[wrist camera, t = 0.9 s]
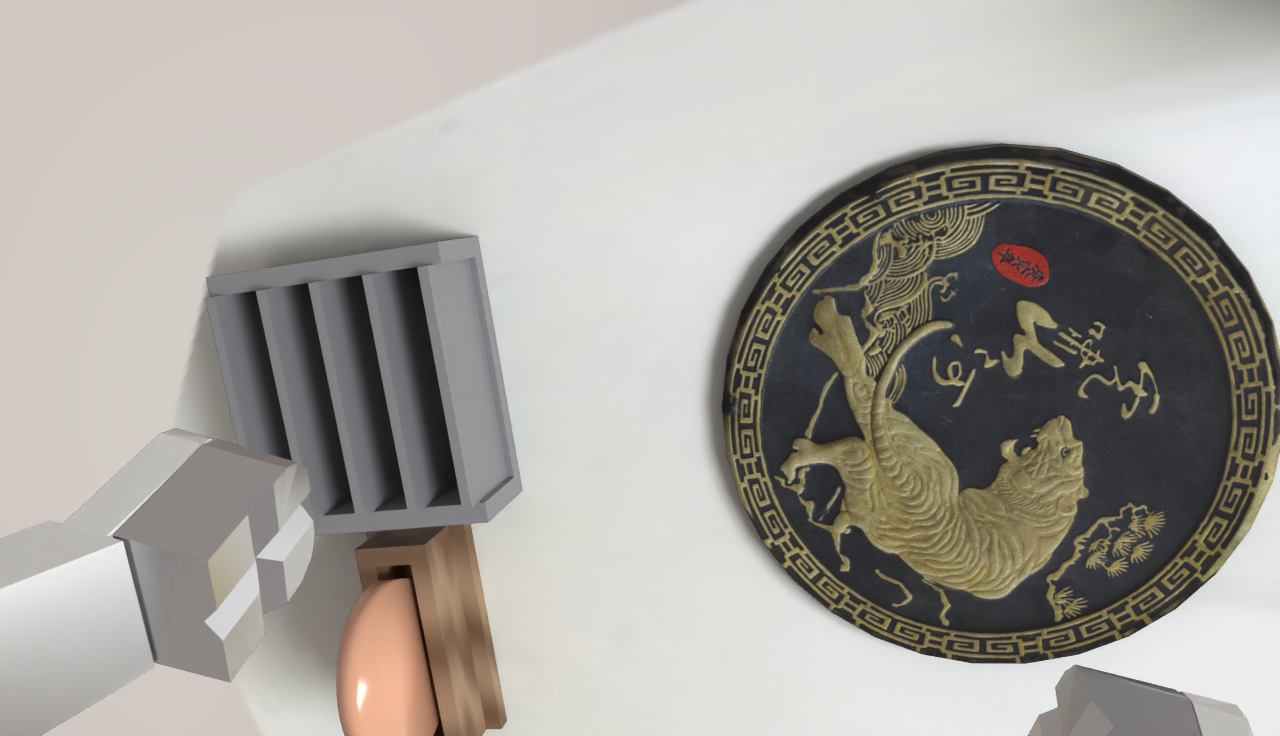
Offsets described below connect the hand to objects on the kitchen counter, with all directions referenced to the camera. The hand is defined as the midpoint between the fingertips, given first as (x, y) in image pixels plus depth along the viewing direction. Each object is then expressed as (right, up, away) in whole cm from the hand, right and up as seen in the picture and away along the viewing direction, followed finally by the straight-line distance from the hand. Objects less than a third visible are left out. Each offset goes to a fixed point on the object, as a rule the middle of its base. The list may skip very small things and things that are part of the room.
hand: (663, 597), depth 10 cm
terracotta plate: (-15, -16, +49) cm, 53 cm away
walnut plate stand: (-14, -15, +55) cm, 58 cm away
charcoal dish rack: (-16, +2, +52) cm, 55 cm away
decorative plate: (+19, 0, +45) cm, 49 cm away
